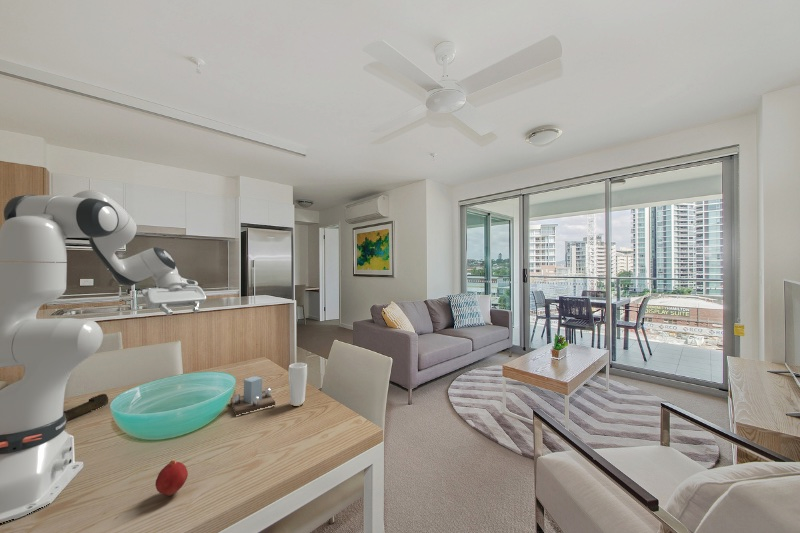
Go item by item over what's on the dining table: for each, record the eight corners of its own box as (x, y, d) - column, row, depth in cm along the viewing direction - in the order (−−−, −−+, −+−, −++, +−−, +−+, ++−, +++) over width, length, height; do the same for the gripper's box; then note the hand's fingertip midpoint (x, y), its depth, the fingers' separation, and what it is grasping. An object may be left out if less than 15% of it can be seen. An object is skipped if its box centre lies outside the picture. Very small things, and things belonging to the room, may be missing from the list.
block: (261, 399, 115) (262, 378, 115) (251, 403, 111) (251, 381, 111) (254, 396, 117) (254, 376, 117) (243, 400, 113) (243, 379, 113)
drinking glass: (297, 409, 111) (298, 369, 111) (284, 406, 113) (284, 366, 114) (310, 402, 117) (310, 364, 117) (297, 399, 120) (297, 361, 120)
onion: (148, 504, 65) (149, 467, 66) (168, 485, 71) (169, 451, 71) (174, 504, 66) (175, 467, 66) (193, 485, 71) (193, 452, 71)
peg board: (275, 407, 113) (275, 393, 113) (236, 416, 105) (236, 402, 105) (267, 395, 123) (267, 383, 123) (230, 403, 115) (231, 390, 115)
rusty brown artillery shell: (52, 430, 95) (52, 416, 95) (41, 430, 95) (41, 415, 95) (114, 404, 114) (114, 392, 114) (104, 404, 114) (105, 391, 114)
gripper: (142, 282, 112) (155, 310, 107) (201, 281, 130) (213, 305, 125) (137, 293, 114) (148, 321, 109) (195, 291, 132) (207, 315, 127)
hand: (183, 312), depth 117 cm, fingers open, 8 cm apart
